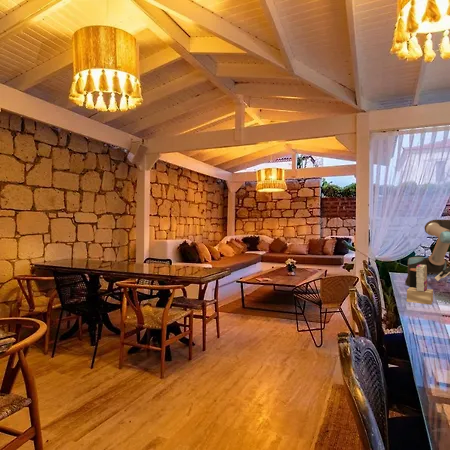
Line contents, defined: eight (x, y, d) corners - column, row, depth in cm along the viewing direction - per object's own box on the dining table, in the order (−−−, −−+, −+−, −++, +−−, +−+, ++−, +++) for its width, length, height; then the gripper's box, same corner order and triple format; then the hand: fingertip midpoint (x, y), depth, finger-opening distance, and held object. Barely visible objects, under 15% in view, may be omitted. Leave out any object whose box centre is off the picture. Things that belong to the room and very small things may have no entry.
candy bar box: (418, 288, 240) (418, 264, 239) (427, 289, 237) (427, 264, 236) (415, 291, 231) (415, 266, 231) (424, 292, 228) (424, 266, 227)
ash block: (409, 298, 244) (409, 287, 244) (432, 301, 236) (433, 289, 236) (406, 302, 234) (406, 290, 234) (430, 305, 226) (431, 292, 226)
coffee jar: (428, 295, 252) (428, 270, 252) (411, 294, 254) (412, 270, 254) (422, 292, 263) (423, 268, 262) (407, 291, 265) (407, 268, 264)
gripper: (468, 263, 206) (438, 285, 217) (475, 259, 224) (448, 280, 235) (457, 253, 210) (429, 275, 221) (466, 250, 228) (439, 271, 238)
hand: (438, 277), depth 228 cm, fingers open, 13 cm apart
